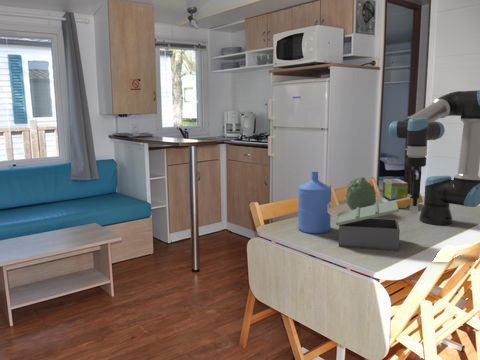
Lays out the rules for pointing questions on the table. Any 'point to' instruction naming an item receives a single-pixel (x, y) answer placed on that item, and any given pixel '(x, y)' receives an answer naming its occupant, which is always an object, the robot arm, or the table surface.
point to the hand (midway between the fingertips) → (413, 212)
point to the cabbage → (360, 194)
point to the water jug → (314, 206)
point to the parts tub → (370, 234)
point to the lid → (373, 210)
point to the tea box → (394, 190)
